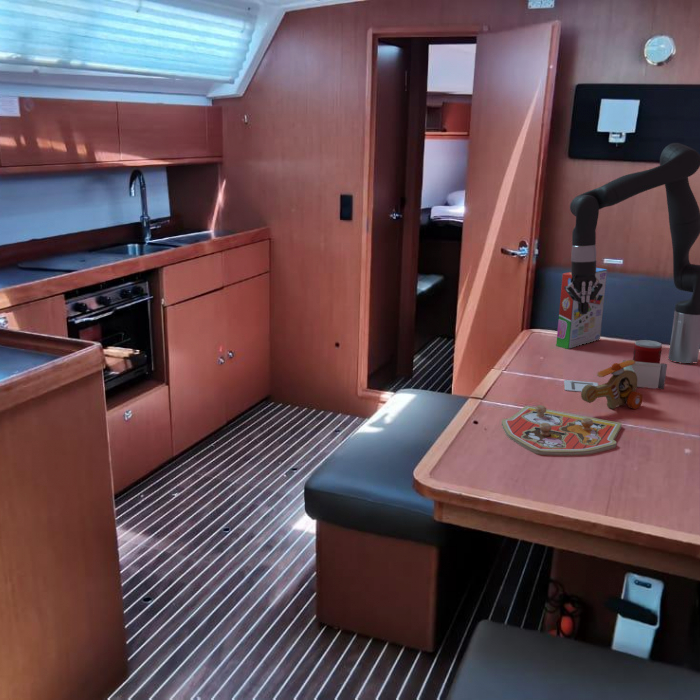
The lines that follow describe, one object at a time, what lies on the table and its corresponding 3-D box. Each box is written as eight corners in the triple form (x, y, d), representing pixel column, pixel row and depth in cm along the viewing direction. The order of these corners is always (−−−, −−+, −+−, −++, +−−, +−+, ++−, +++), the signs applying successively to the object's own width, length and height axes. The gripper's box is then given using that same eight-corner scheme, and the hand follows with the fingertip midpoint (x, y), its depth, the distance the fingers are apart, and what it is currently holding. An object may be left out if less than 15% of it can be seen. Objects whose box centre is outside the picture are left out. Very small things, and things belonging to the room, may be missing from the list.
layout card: (564, 380, 230) (564, 379, 230) (597, 383, 228) (597, 382, 228) (564, 390, 221) (564, 389, 221) (599, 393, 218) (599, 392, 218)
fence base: (619, 383, 228) (622, 360, 226) (663, 387, 225) (666, 363, 223) (620, 385, 226) (622, 361, 224) (664, 389, 223) (667, 365, 221)
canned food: (661, 380, 232) (666, 346, 229) (636, 379, 232) (640, 345, 229) (652, 372, 240) (656, 340, 237) (627, 372, 240) (631, 339, 237)
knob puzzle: (627, 429, 193) (629, 413, 191) (602, 471, 168) (605, 453, 167) (518, 408, 207) (519, 393, 205) (481, 444, 182) (482, 427, 181)
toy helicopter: (644, 407, 208) (650, 360, 204) (593, 420, 197) (598, 371, 194) (621, 398, 214) (626, 353, 211) (570, 410, 204) (575, 363, 201)
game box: (587, 337, 282) (595, 267, 275) (600, 340, 278) (608, 269, 271) (555, 346, 269) (562, 272, 262) (568, 349, 265) (575, 274, 258)
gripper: (571, 262, 226) (571, 317, 230) (609, 258, 230) (608, 313, 234) (558, 260, 233) (558, 314, 237) (595, 257, 237) (594, 310, 241)
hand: (583, 313), depth 235 cm, fingers closed
